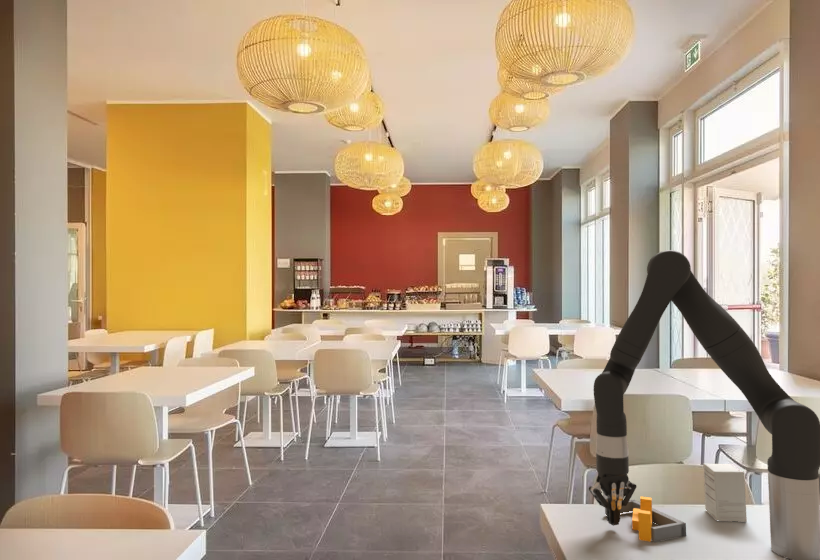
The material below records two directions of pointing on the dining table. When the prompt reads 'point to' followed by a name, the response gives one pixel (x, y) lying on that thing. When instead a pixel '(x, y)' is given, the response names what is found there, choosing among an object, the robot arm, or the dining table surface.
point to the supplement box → (725, 492)
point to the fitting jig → (659, 523)
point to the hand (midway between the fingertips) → (613, 523)
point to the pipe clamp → (643, 519)
